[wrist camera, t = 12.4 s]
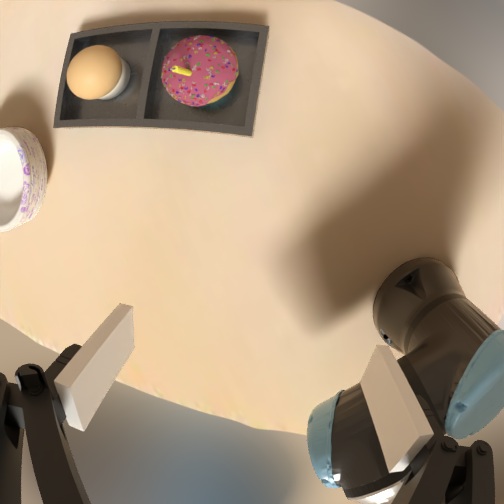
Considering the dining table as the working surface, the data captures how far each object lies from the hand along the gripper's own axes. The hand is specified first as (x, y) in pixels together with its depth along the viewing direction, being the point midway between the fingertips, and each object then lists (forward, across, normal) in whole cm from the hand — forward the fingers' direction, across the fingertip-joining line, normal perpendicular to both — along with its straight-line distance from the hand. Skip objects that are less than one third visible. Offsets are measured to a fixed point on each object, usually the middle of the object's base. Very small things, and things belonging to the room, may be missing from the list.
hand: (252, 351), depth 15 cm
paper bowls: (+25, +38, -4) cm, 46 cm away
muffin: (+24, +23, -18) cm, 38 cm away
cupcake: (+24, +10, -18) cm, 32 cm away
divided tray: (+25, +17, -18) cm, 35 cm away
